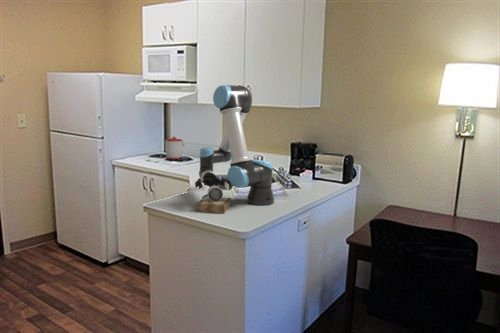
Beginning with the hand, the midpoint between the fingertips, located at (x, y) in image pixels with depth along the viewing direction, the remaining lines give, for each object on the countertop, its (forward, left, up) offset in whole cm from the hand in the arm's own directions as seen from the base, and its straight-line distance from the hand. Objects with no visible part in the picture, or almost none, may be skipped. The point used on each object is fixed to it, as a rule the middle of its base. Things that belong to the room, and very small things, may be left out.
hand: (216, 187), depth 207 cm
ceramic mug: (+3, -3, -8) cm, 9 cm away
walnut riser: (+2, -3, -12) cm, 13 cm away
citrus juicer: (+75, -142, -12) cm, 161 cm away
